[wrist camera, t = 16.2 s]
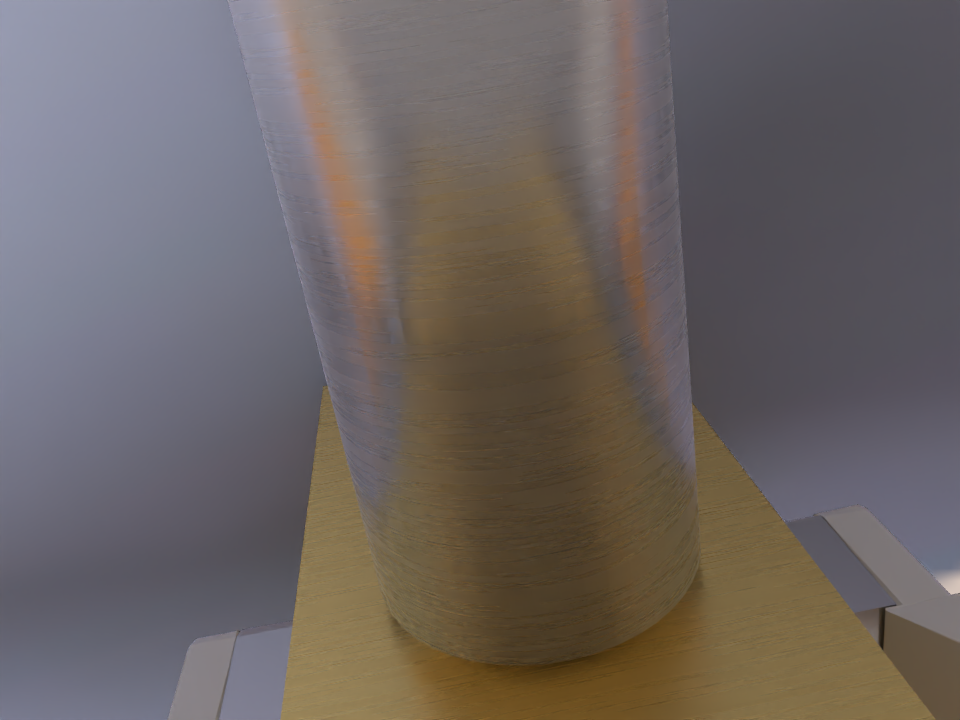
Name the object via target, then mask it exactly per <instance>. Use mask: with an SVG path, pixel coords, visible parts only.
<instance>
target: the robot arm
mask: <svg viewBox="0 0 960 720" xmlns="http://www.w3.org/2000/svg"><path fill="white" fill-rule="evenodd" d="M784 523H785V524H786V525H787V526H788V528H789V529H790V530H791V532H792V533H793V534H794V536H795V537H796V538H797V539H798V541H799V542H800V543H801V545H802V546H803V547H804V549H805V550H806V551H807V553H808V554H809V555H810V556H811V558H812V559H813V560H814V562H815V563H816V564H817V566H818V567H819V568H820V569H821V571H822V572H823V573H824V575H825V576H826V577H827V579H828V580H829V581H830V582H831V584H832V585H833V586H834V588H835V589H836V590H837V592H838V593H839V594H840V595H841V597H842V598H843V599H844V601H845V602H846V603H847V605H848V606H849V607H850V608H851V610H852V611H853V612H854V614H855V615H856V616H857V618H858V619H859V620H860V621H861V623H862V624H863V625H864V627H865V628H866V629H867V631H868V632H869V633H870V634H871V636H872V637H873V638H874V640H875V641H876V642H877V644H878V645H879V646H880V647H881V649H882V650H883V651H884V653H885V654H886V655H887V657H888V658H889V659H890V660H891V662H892V663H893V664H894V666H895V667H896V668H897V670H898V671H899V672H900V673H901V675H902V676H903V677H904V679H905V680H906V681H907V683H908V684H909V685H910V687H911V688H912V689H913V690H914V692H915V693H916V694H917V696H918V697H919V698H920V700H921V701H922V702H923V703H924V705H925V706H926V707H927V709H928V710H929V711H930V713H931V714H932V715H933V716H934V718H935V719H936V720H960V593H958V594H953V595H951V594H950V593H949V592H948V591H947V590H946V589H945V588H944V587H943V586H942V585H941V584H940V583H939V582H938V581H937V580H936V579H935V578H934V577H933V576H932V575H931V574H930V573H929V572H928V571H927V570H926V569H925V568H924V567H923V566H922V564H921V563H920V562H919V561H918V560H917V559H916V558H915V557H914V556H913V555H912V554H911V553H910V552H909V551H908V550H907V549H906V548H905V547H904V546H903V545H902V544H901V543H900V542H899V541H898V540H897V539H896V538H895V537H894V536H893V535H892V534H891V533H890V531H889V530H888V529H887V528H886V527H885V526H884V525H883V524H882V523H881V522H880V521H879V520H878V519H877V518H876V517H875V516H874V515H873V514H872V513H871V512H870V511H869V510H868V509H867V508H866V507H863V506H860V505H858V504H856V505H852V506H848V507H843V508H839V509H835V510H830V511H826V512H821V513H817V514H814V516H810V517H805V518H800V519H795V520H790V521H785V522H784ZM292 626H293V620H292V621H286V622H281V623H275V624H270V625H264V626H258V627H253V628H247V629H242V630H241V631H234V632H228V633H223V634H218V635H212V636H207V637H202V638H197V639H196V640H195V641H194V642H193V643H192V644H191V645H190V646H189V648H188V650H187V653H186V657H185V660H184V664H183V667H182V671H181V674H180V678H179V681H178V685H177V688H176V692H175V695H174V699H173V702H172V705H171V709H170V712H169V716H168V719H167V720H280V719H281V711H282V703H283V696H284V688H285V680H286V672H287V664H288V657H289V649H290V641H291V633H292Z"/></svg>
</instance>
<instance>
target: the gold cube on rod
mask: <svg viewBox="0 0 960 720" xmlns="http://www.w3.org/2000/svg"><path fill="white" fill-rule="evenodd" d="M228 4H229V8H230V12H231V15H232V19H233V23H234V27H235V31H236V35H237V39H238V42H239V46H240V50H241V54H242V58H243V62H244V66H245V69H246V73H247V77H248V81H249V85H250V89H251V93H252V96H253V100H254V104H255V108H256V112H257V116H258V120H259V123H260V127H261V131H262V135H263V139H264V143H265V147H266V150H267V154H268V158H269V162H270V166H271V170H272V174H273V177H274V181H275V185H276V189H277V193H278V197H279V201H280V204H281V208H282V212H283V216H284V220H285V224H286V228H287V231H288V235H289V239H290V243H291V247H292V251H293V255H294V258H295V262H296V266H297V270H298V274H299V278H300V282H301V285H302V289H303V293H304V297H305V301H306V305H307V309H308V312H309V316H310V320H311V324H312V328H313V332H314V336H315V339H316V343H317V347H318V351H319V355H320V359H321V363H322V366H323V370H324V374H325V378H326V382H327V386H323V392H322V400H321V408H320V416H319V424H318V431H317V439H316V447H315V455H314V462H313V470H312V478H311V486H310V493H309V501H308V509H307V517H306V525H305V532H304V540H303V548H302V556H301V563H300V571H299V579H298V587H297V594H296V602H295V610H294V618H293V626H292V633H291V641H290V649H289V657H288V664H287V672H286V680H285V688H284V696H283V703H282V711H281V719H280V720H936V719H935V718H934V716H933V715H932V714H931V713H930V711H929V710H928V709H927V707H926V706H925V705H924V703H923V702H922V701H921V700H920V698H919V697H918V696H917V694H916V693H915V692H914V690H913V689H912V688H911V687H910V685H909V684H908V683H907V681H906V680H905V679H904V677H903V676H902V675H901V673H900V672H899V671H898V670H897V668H896V667H895V666H894V664H893V663H892V662H891V660H890V659H889V658H888V657H887V655H886V654H885V653H884V651H883V650H882V649H881V647H880V646H879V645H878V644H877V642H876V641H875V640H874V638H873V637H872V636H871V634H870V633H869V632H868V631H867V629H866V628H865V627H864V625H863V624H862V623H861V621H860V620H859V619H858V618H857V616H856V615H855V614H854V612H853V611H852V610H851V608H850V607H849V606H848V605H847V603H846V602H845V601H844V599H843V598H842V597H841V595H840V594H839V593H838V592H837V590H836V589H835V588H834V586H833V585H832V584H831V582H830V581H829V580H828V579H827V577H826V576H825V575H824V573H823V572H822V571H821V569H820V568H819V567H818V566H817V564H816V563H815V562H814V560H813V559H812V558H811V556H810V555H809V554H808V553H807V551H806V550H805V549H804V547H803V546H802V545H801V543H800V542H799V541H798V539H797V538H796V537H795V536H794V534H793V533H792V532H791V530H790V529H789V528H788V526H787V525H786V524H785V523H784V521H783V520H782V519H781V517H780V516H779V515H778V513H777V512H776V511H775V510H774V508H773V507H772V506H771V504H770V503H769V502H768V500H767V499H766V498H765V497H764V495H763V494H762V493H761V491H760V490H759V489H758V487H757V486H756V485H755V484H754V482H753V481H752V480H751V478H750V477H749V476H748V474H747V473H746V472H745V471H744V469H743V468H742V467H741V465H740V464H739V463H738V461H737V460H736V459H735V458H734V456H733V455H732V454H731V452H730V451H729V450H728V448H727V447H726V446H725V445H724V443H723V442H722V441H721V439H720V438H719V437H718V435H717V434H716V433H715V432H714V430H713V429H712V428H711V426H710V425H709V424H708V422H707V421H706V420H705V418H704V417H703V416H702V415H701V413H700V412H699V411H698V409H697V408H696V407H695V405H694V404H693V403H692V396H691V380H690V364H689V348H688V331H687V315H686V299H685V283H684V267H683V251H682V235H681V218H680V202H679V186H678V170H677V154H676V138H675V121H674V105H673V89H672V73H671V57H670V41H669V25H668V8H667V0H228Z"/></svg>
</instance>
